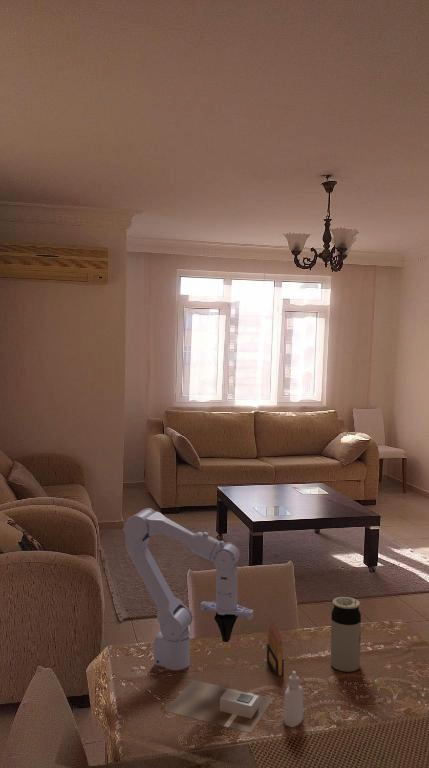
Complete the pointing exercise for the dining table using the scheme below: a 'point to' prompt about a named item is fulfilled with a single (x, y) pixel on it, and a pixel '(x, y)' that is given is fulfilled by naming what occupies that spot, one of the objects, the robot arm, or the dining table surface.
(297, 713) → the eye dropper bottle
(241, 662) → the dining table surface
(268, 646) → the ammunition clip
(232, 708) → the block
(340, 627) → the travel mug
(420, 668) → the dining table surface
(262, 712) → the subfloor panel
